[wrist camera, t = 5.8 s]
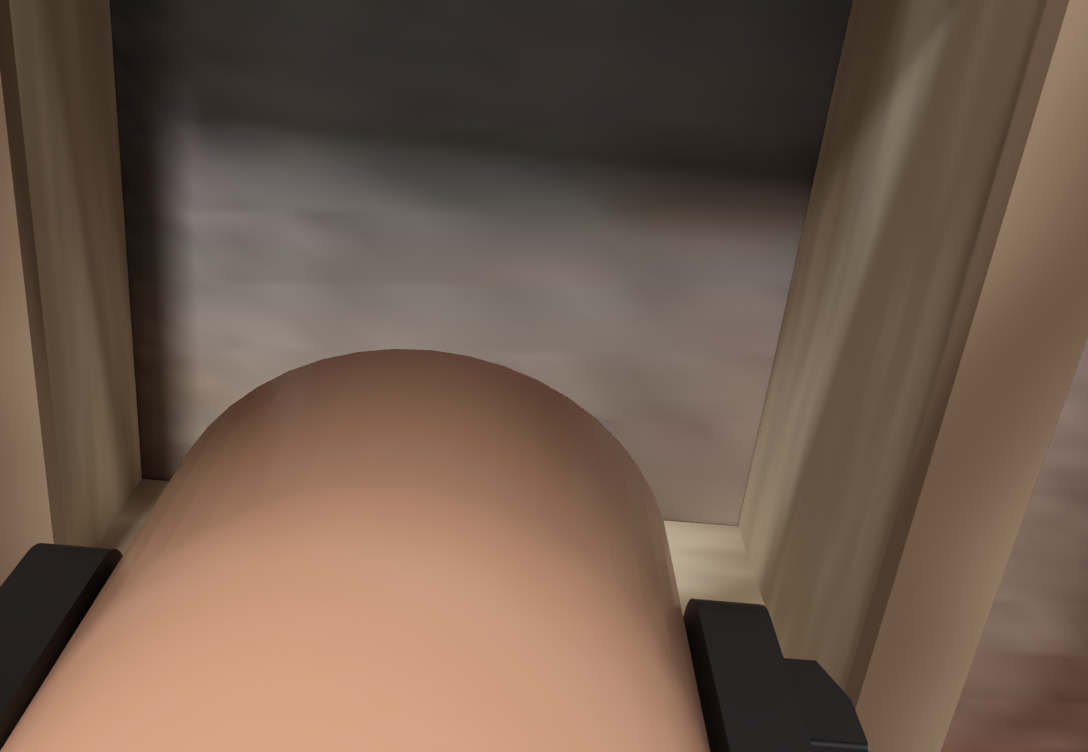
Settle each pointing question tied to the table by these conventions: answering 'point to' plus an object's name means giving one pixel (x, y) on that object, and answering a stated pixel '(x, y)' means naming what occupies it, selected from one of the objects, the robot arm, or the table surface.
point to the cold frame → (799, 366)
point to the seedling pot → (387, 581)
